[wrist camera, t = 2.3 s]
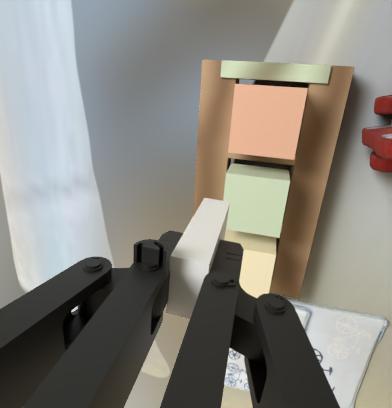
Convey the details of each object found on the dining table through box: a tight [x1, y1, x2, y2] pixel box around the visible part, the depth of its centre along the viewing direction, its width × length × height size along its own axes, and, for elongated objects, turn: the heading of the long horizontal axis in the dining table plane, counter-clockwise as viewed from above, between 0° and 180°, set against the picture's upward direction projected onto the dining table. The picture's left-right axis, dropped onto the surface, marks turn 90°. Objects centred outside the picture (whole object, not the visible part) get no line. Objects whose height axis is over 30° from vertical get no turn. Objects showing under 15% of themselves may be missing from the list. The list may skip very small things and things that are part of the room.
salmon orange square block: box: [228, 84, 308, 160], centre depth 28 cm, size 6×6×4 cm
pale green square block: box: [223, 163, 290, 238], centre depth 31 cm, size 6×6×4 cm
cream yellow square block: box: [224, 229, 276, 298], centre depth 34 cm, size 6×6×4 cm
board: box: [193, 60, 355, 299], centre depth 34 cm, size 14×26×3 cm, turn 176°
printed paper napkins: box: [224, 298, 388, 408], centre depth 43 cm, size 19×20×2 cm
